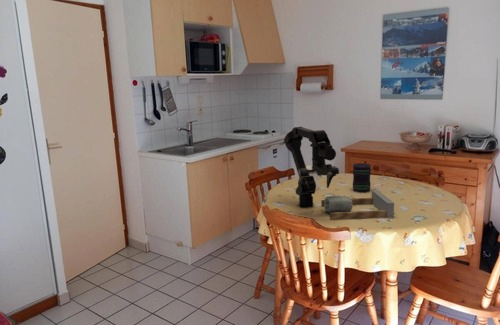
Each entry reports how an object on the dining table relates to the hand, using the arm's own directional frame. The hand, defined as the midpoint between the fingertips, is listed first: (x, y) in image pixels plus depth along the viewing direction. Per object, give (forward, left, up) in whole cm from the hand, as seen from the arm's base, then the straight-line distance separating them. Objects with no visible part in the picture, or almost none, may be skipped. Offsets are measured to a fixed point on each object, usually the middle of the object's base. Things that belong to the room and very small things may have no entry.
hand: (318, 188), depth 185 cm
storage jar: (+32, +33, -12) cm, 47 cm away
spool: (+10, -1, -12) cm, 16 cm away
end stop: (+31, -1, -12) cm, 33 cm away
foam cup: (+5, +41, -12) cm, 43 cm away
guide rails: (+17, -1, -12) cm, 20 cm away
